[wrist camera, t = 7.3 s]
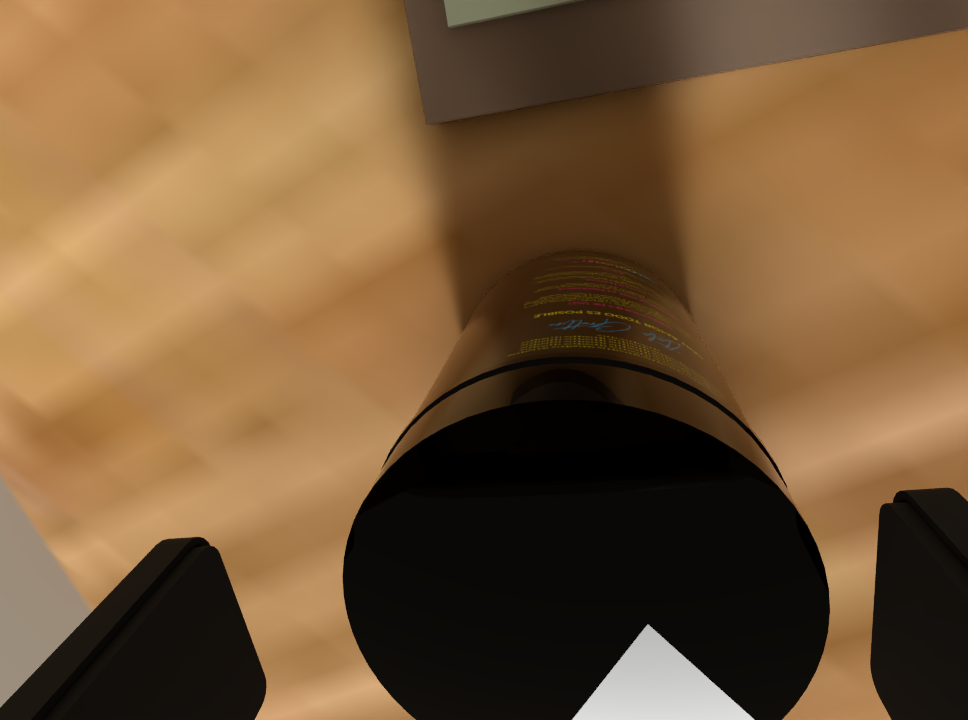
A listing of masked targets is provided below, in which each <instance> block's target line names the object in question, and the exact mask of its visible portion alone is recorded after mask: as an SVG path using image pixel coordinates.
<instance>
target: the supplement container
mask: <svg viewBox="0 0 968 720" xmlns="http://www.w3.org/2000/svg"><path fill="white" fill-rule="evenodd" d="M343 590H344V599H345V605H346V611H347V615H348V619H349V622H350V625H351V629H352V632H353V635H354V637H355V639H356V642H357V644H358V646H359V649H360V651H361V653H362V654H363V656H364V658H365V660H366V662H367V663H368V665H369V667H370V668H371V670H372V671H373V673H374V674H375V676H376V677H377V679H378V680H379V682H380V683H381V684H382V685H383V687H384V688H385V689H386V690H387V691H388V693H389V694H390V695H391V696H392V697H393V698H394V699H395V700H396V701H397V702H398V703H399V704H400V705H401V706H402V707H403V708H404V709H405V710H406V711H407V712H408V713H409V714H410V715H411V716H412V717H414V718H415V719H416V720H782V719H783V718H784V717H785V716H786V715H787V714H788V712H789V711H790V710H791V709H792V708H793V707H794V706H795V704H796V703H797V702H798V700H799V699H800V697H801V696H802V695H803V693H804V692H805V690H806V689H807V687H808V685H809V683H810V681H811V680H812V678H813V676H814V674H815V672H816V670H817V667H818V665H819V662H820V659H821V657H822V654H823V651H824V647H825V643H826V638H827V634H828V626H829V615H830V604H829V588H828V583H827V578H826V572H825V567H824V564H823V561H822V559H821V556H820V553H819V550H818V547H817V544H816V542H815V540H814V538H813V536H812V534H811V532H810V530H809V528H808V526H807V524H806V522H805V521H804V519H803V517H802V515H801V513H800V511H799V510H798V508H797V506H796V504H795V502H794V501H793V499H792V497H791V495H790V493H789V492H788V489H787V486H786V483H785V481H784V479H783V477H782V475H781V473H780V471H779V469H778V467H777V465H776V463H775V462H774V460H773V458H772V457H771V455H770V454H769V452H768V450H767V449H766V447H765V446H764V444H763V443H762V441H761V440H760V439H759V438H758V436H757V435H756V434H755V433H754V432H753V430H752V429H751V427H750V425H749V423H748V421H747V420H746V418H745V416H744V414H743V412H742V410H741V409H740V407H739V405H738V403H737V401H736V399H735V398H734V396H733V394H732V392H731V390H730V388H729V387H728V385H727V383H726V381H725V379H724V377H723V376H722V374H721V372H720V370H719V368H718V366H717V365H716V363H715V361H714V359H713V357H712V355H711V353H710V352H709V350H708V348H707V346H706V344H705V342H704V341H703V339H702V337H701V335H700V333H699V331H698V330H697V328H696V326H695V324H694V322H693V320H692V319H691V317H690V315H689V313H688V311H687V309H686V308H685V306H684V305H683V303H682V302H681V300H680V299H679V297H678V296H677V295H676V294H675V292H674V291H673V290H672V289H671V288H670V287H669V286H668V285H667V284H666V283H665V282H664V281H663V280H662V279H660V278H659V277H658V276H657V275H655V274H654V273H653V272H651V271H650V270H648V269H646V268H645V267H643V266H642V265H639V264H637V263H635V262H633V261H631V260H629V259H626V258H623V257H621V256H618V255H614V254H610V253H606V252H599V251H589V250H573V251H563V252H557V253H552V254H548V255H545V256H541V257H538V258H536V259H533V260H531V261H528V262H526V263H524V264H523V265H521V266H519V267H517V268H515V269H514V270H512V271H511V272H509V273H508V274H507V275H505V276H504V277H503V278H502V279H500V280H499V281H498V282H497V283H496V284H495V285H494V286H493V287H492V288H491V289H490V290H489V291H488V293H487V294H486V295H485V296H484V297H483V299H482V300H481V302H480V303H479V305H478V307H477V308H476V310H475V312H474V313H473V315H472V317H471V319H470V320H469V322H468V324H467V326H466V327H465V329H464V331H463V333H462V334H461V336H460V338H459V340H458V341H457V343H456V345H455V347H454V348H453V350H452V352H451V353H450V355H449V357H448V359H447V360H446V362H445V364H444V366H443V367H442V369H441V371H440V373H439V374H438V376H437V378H436V380H435V381H434V383H433V385H432V387H431V388H430V390H429V392H428V394H427V395H426V397H425V399H424V401H423V402H422V404H421V406H420V408H419V409H418V411H417V413H416V415H415V416H414V418H413V419H412V420H411V421H410V423H409V424H408V425H407V426H406V427H405V429H404V430H403V431H402V433H401V435H400V436H399V438H398V439H397V441H396V442H395V444H394V445H393V447H392V449H391V450H390V452H389V454H388V457H387V459H386V461H385V463H384V465H383V467H382V470H381V472H380V473H379V475H378V477H377V479H376V480H375V482H374V484H373V486H372V487H371V489H370V491H369V492H368V494H367V496H366V498H365V499H364V501H363V503H362V505H361V507H360V509H359V511H358V513H357V515H356V517H355V519H354V522H353V525H352V528H351V531H350V534H349V537H348V540H347V545H346V550H345V556H344V566H343Z"/></svg>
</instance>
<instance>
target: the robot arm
mask: <svg viewBox="0 0 968 720" xmlns="http://www.w3.org/2000/svg"><path fill="white" fill-rule="evenodd" d="M870 665H871V674H872V678H873V682H874V685H875V688H876V691H877V693H878V695H879V697H880V699H881V701H882V703H883V705H884V706H885V708H886V710H887V712H888V714H889V716H890V718H891V719H892V720H968V501H967V500H966V499H965V498H964V497H962V496H961V495H960V494H959V493H958V492H957V491H955V490H954V489H951V488H935V489H920V490H905V491H899V492H897V493H896V495H895V497H894V500H893V503H885V504H883V505H882V507H881V508H880V514H879V529H878V545H877V562H876V578H875V594H874V611H873V627H872V643H871V660H870ZM265 694H266V678H265V675H264V672H263V669H262V666H261V664H260V661H259V658H258V656H257V653H256V650H255V648H254V645H253V642H252V639H251V637H250V634H249V631H248V629H247V626H246V623H245V620H244V618H243V615H242V612H241V610H240V607H239V604H238V602H237V599H236V596H235V593H234V591H233V588H232V585H231V583H230V580H229V577H228V575H227V572H226V569H225V566H224V564H223V561H222V558H221V556H220V553H219V551H218V550H217V549H216V548H215V547H213V546H210V544H209V542H208V541H206V540H205V539H204V538H201V537H191V538H176V539H166V540H162V541H161V542H160V543H158V544H157V545H156V546H155V547H154V548H153V549H152V550H151V551H150V552H149V553H148V554H147V555H146V556H145V557H144V558H143V559H142V560H141V561H140V563H139V564H138V565H137V566H136V567H135V568H134V569H133V570H132V571H131V572H130V573H129V574H128V575H127V576H126V577H125V578H124V579H123V580H122V581H121V582H120V583H119V584H118V585H117V586H116V588H115V589H114V590H113V591H112V592H111V593H110V594H109V595H108V596H107V597H106V598H105V599H104V600H103V601H102V602H101V603H100V604H99V605H98V606H97V607H96V608H95V609H94V610H93V612H92V613H91V614H90V615H89V616H88V617H87V618H86V619H85V620H84V621H83V622H82V623H81V624H80V625H79V626H78V627H77V628H76V629H75V630H74V632H73V633H72V634H70V636H69V637H68V638H67V639H66V640H65V641H64V642H63V643H62V644H61V645H60V646H59V647H58V648H57V649H56V650H55V651H54V652H53V653H52V654H51V656H50V657H48V658H47V660H46V661H45V662H44V663H43V664H42V665H41V666H40V667H39V668H38V669H37V670H36V671H35V672H34V673H33V674H32V675H31V676H30V677H29V678H28V679H27V681H26V682H25V683H24V684H23V685H22V686H21V687H20V688H19V689H18V690H17V691H16V692H15V693H14V694H13V695H12V696H11V697H10V698H9V699H8V700H7V701H6V702H5V703H4V704H3V706H2V707H1V708H0V720H255V718H256V716H257V714H258V712H259V710H260V708H261V706H262V704H263V701H264V698H265Z"/></svg>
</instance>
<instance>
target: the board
mask: <svg viewBox="0 0 968 720" xmlns="http://www.w3.org/2000/svg"><path fill="white" fill-rule="evenodd" d="M404 4H405V9H406V15H407V21H408V26H409V32H410V37H411V43H412V48H413V54H414V59H415V65H416V70H417V76H418V81H419V87H420V92H421V98H422V103H423V109H424V114H425V120H426V125H427V124H439V123H445V122H451V121H456V120H462V119H467V118H473V117H478V116H484V115H490V114H495V113H501V112H506V111H512V110H517V109H523V108H529V107H534V106H540V105H545V104H551V103H557V102H562V101H568V100H573V99H579V98H584V97H590V96H596V95H601V94H607V93H612V92H618V91H623V90H629V89H635V88H640V87H646V86H651V85H657V84H662V83H668V82H674V81H679V80H685V79H690V78H696V77H701V76H707V75H713V74H718V73H724V72H729V71H735V70H740V69H746V68H752V67H757V66H763V65H768V64H774V63H780V62H785V61H791V60H796V59H802V58H807V57H813V56H819V55H824V54H830V53H835V52H841V51H846V50H852V49H858V48H863V47H869V46H874V45H880V44H885V43H891V42H897V41H902V40H908V39H913V38H919V37H924V36H930V35H936V34H941V33H947V32H952V31H958V30H964V29H968V0H404Z"/></svg>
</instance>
